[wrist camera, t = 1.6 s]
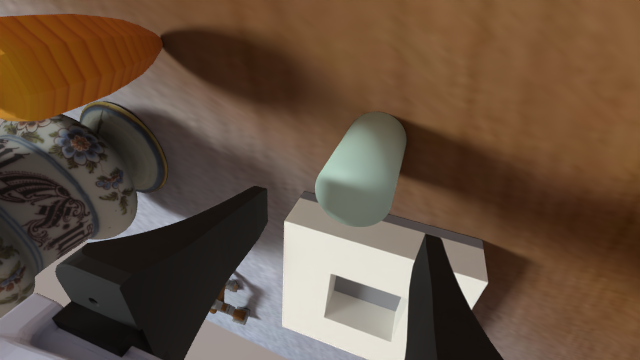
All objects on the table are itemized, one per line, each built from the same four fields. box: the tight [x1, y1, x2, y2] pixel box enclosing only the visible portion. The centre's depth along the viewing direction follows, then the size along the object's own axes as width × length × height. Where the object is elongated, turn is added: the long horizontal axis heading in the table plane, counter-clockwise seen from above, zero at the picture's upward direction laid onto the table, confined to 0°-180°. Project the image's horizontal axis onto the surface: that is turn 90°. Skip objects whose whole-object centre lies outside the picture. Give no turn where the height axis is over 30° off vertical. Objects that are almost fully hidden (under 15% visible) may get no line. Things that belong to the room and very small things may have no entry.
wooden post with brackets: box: [210, 279, 250, 325], centre depth 36 cm, size 2×8×4 cm, turn 6°
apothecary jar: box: [0, 101, 168, 318], centre depth 23 cm, size 12×12×18 cm
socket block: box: [282, 191, 488, 360], centre depth 26 cm, size 14×14×4 cm
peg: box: [315, 112, 407, 227], centre depth 18 cm, size 4×4×7 cm
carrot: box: [0, 14, 163, 121], centre depth 17 cm, size 5×5×15 cm
